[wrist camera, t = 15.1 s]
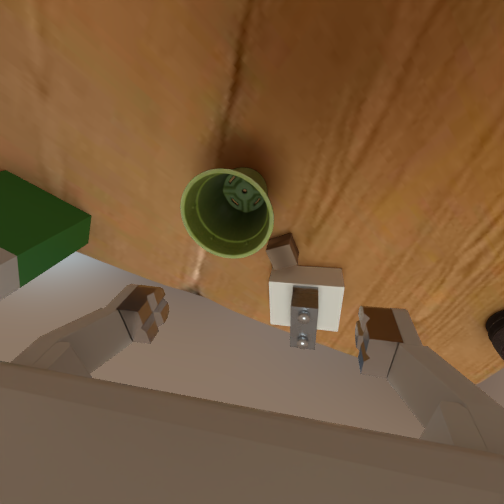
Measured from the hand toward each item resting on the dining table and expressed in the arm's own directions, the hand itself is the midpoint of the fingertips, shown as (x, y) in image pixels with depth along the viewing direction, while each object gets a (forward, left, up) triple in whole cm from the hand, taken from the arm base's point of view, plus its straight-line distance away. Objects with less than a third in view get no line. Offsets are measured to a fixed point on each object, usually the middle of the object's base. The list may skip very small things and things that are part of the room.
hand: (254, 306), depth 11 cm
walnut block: (+2, +15, -31) cm, 35 cm away
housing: (-2, +24, -26) cm, 35 cm away
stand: (-2, +24, -31) cm, 39 cm away
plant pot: (+8, +5, -31) cm, 33 cm away
